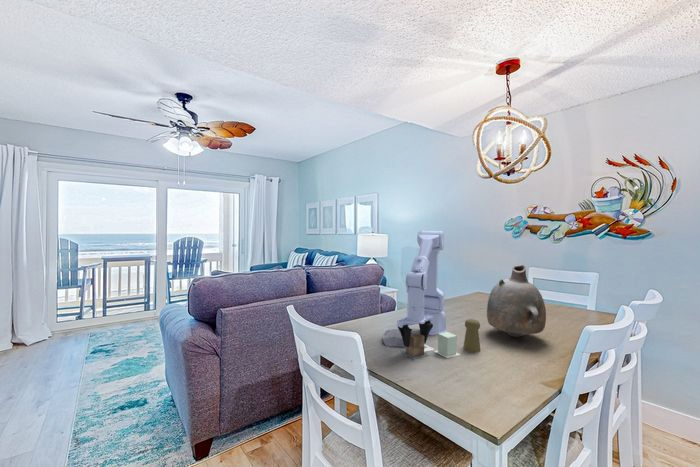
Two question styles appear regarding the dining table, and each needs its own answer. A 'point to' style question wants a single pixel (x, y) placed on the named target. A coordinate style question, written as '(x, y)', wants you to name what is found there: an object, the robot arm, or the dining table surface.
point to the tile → (446, 356)
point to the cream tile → (427, 348)
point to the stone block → (393, 338)
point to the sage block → (447, 343)
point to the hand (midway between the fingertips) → (414, 344)
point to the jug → (516, 305)
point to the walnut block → (416, 345)
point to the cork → (472, 336)
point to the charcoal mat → (412, 356)
